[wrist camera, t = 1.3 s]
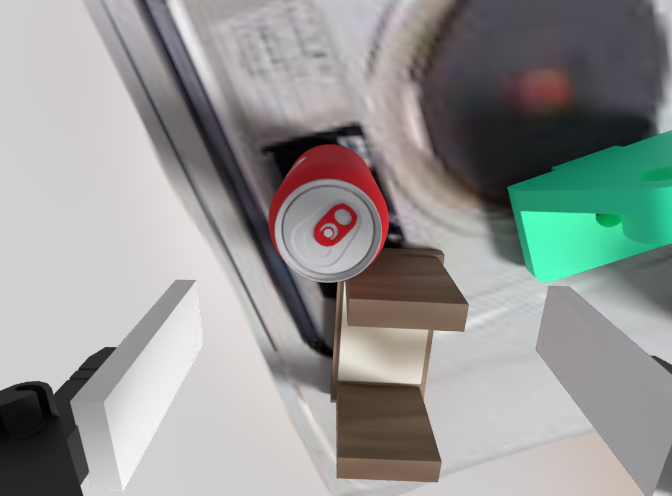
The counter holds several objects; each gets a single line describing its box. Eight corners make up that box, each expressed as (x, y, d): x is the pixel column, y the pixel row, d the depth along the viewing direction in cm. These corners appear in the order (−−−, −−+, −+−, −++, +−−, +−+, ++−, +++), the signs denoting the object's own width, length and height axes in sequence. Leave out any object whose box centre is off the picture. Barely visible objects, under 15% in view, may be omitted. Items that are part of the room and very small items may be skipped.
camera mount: (522, 272, 34) (597, 340, 25) (501, 184, 32) (574, 219, 22) (676, 223, 33) (818, 274, 23) (665, 127, 31) (819, 139, 21)
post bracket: (339, 245, 33) (341, 295, 25) (441, 250, 33) (477, 301, 25) (330, 394, 38) (329, 480, 29) (420, 398, 38) (444, 484, 29)
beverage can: (271, 188, 32) (235, 236, 20) (327, 124, 30) (322, 138, 19) (333, 242, 33) (332, 315, 22) (389, 183, 32) (419, 229, 20)
